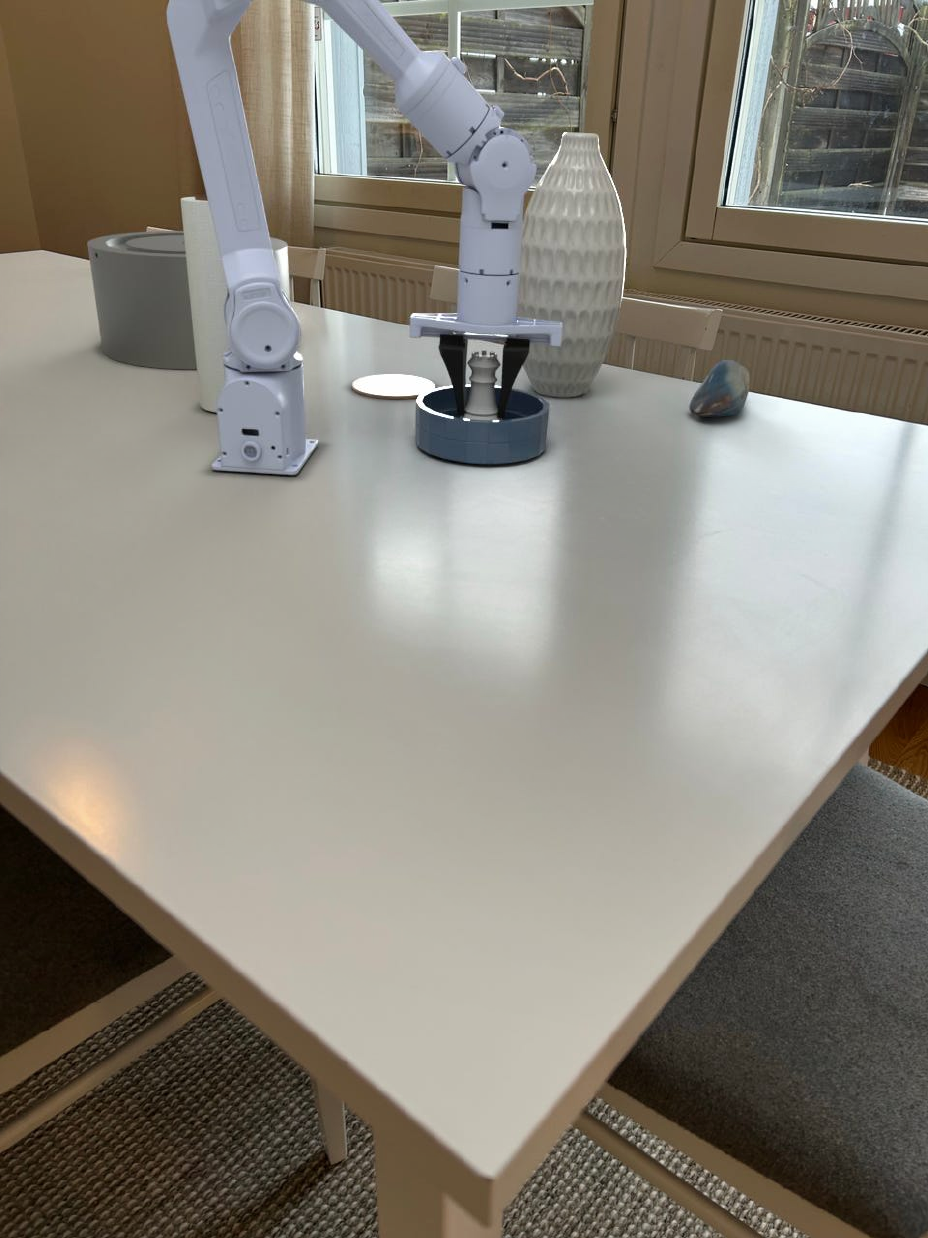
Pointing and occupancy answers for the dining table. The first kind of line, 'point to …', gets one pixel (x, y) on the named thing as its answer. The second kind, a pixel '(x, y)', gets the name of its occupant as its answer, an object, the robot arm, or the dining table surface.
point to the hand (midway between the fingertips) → (481, 414)
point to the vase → (572, 266)
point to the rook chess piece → (482, 387)
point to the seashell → (722, 391)
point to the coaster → (392, 386)
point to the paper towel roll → (205, 297)
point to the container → (150, 297)
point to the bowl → (481, 428)
